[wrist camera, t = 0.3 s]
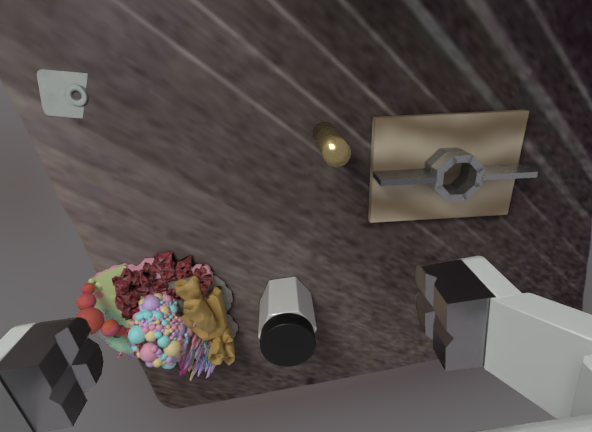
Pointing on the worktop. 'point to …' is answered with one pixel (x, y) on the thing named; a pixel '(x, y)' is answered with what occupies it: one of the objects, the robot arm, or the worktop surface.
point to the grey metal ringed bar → (464, 183)
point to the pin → (331, 145)
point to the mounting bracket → (62, 92)
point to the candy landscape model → (162, 313)
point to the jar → (287, 322)
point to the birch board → (448, 134)
